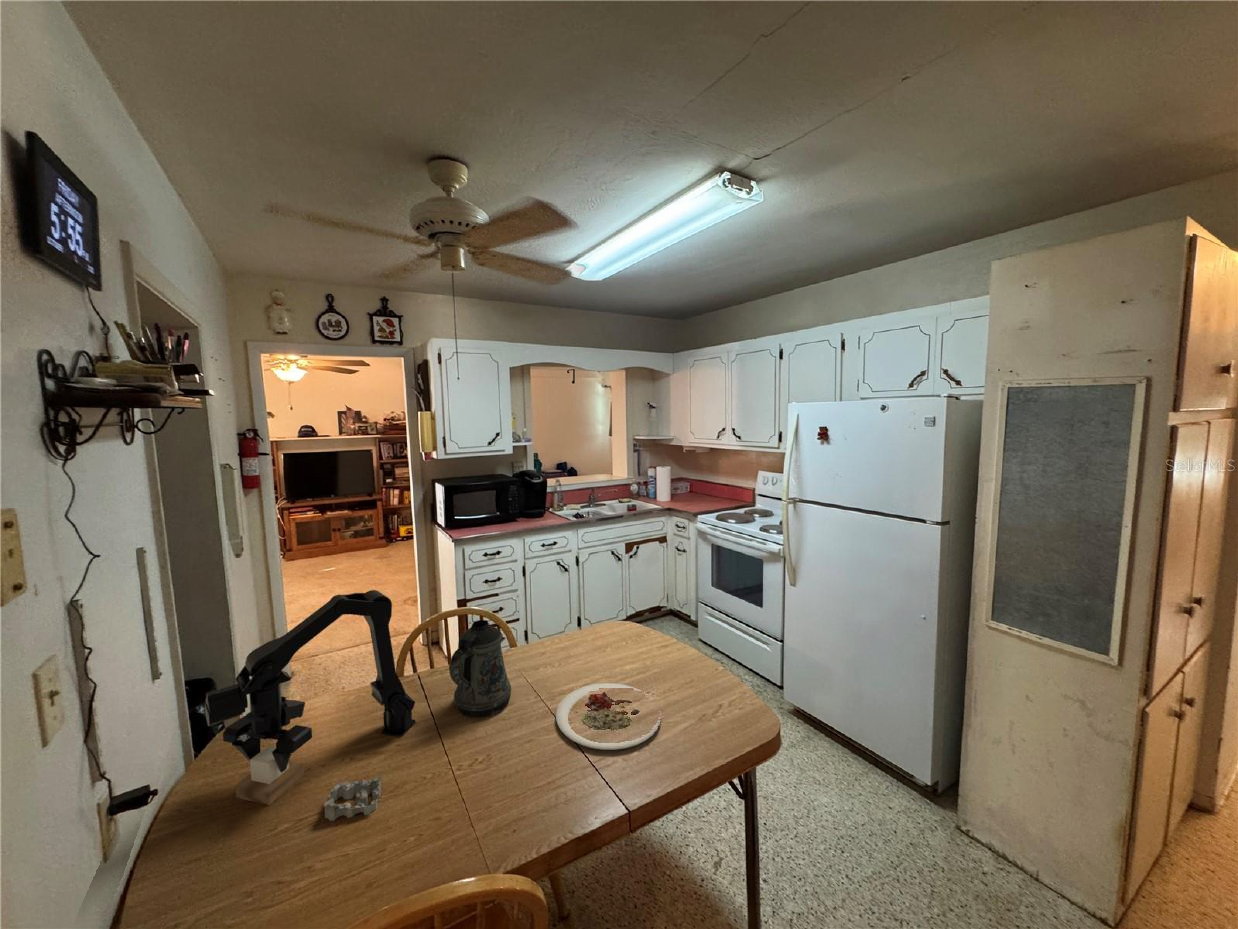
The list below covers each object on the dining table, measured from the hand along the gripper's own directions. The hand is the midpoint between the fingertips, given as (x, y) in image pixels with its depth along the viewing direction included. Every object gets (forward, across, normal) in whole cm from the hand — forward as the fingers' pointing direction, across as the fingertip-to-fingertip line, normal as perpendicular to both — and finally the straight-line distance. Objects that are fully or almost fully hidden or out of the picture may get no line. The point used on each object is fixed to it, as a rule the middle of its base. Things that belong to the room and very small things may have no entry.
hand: (270, 768), depth 112 cm
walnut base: (+4, 0, 0) cm, 4 cm away
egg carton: (+5, -22, 0) cm, 23 cm away
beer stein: (+5, -32, -40) cm, 51 cm away
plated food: (+5, -70, -43) cm, 82 cm away
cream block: (+2, 0, 0) cm, 2 cm away
